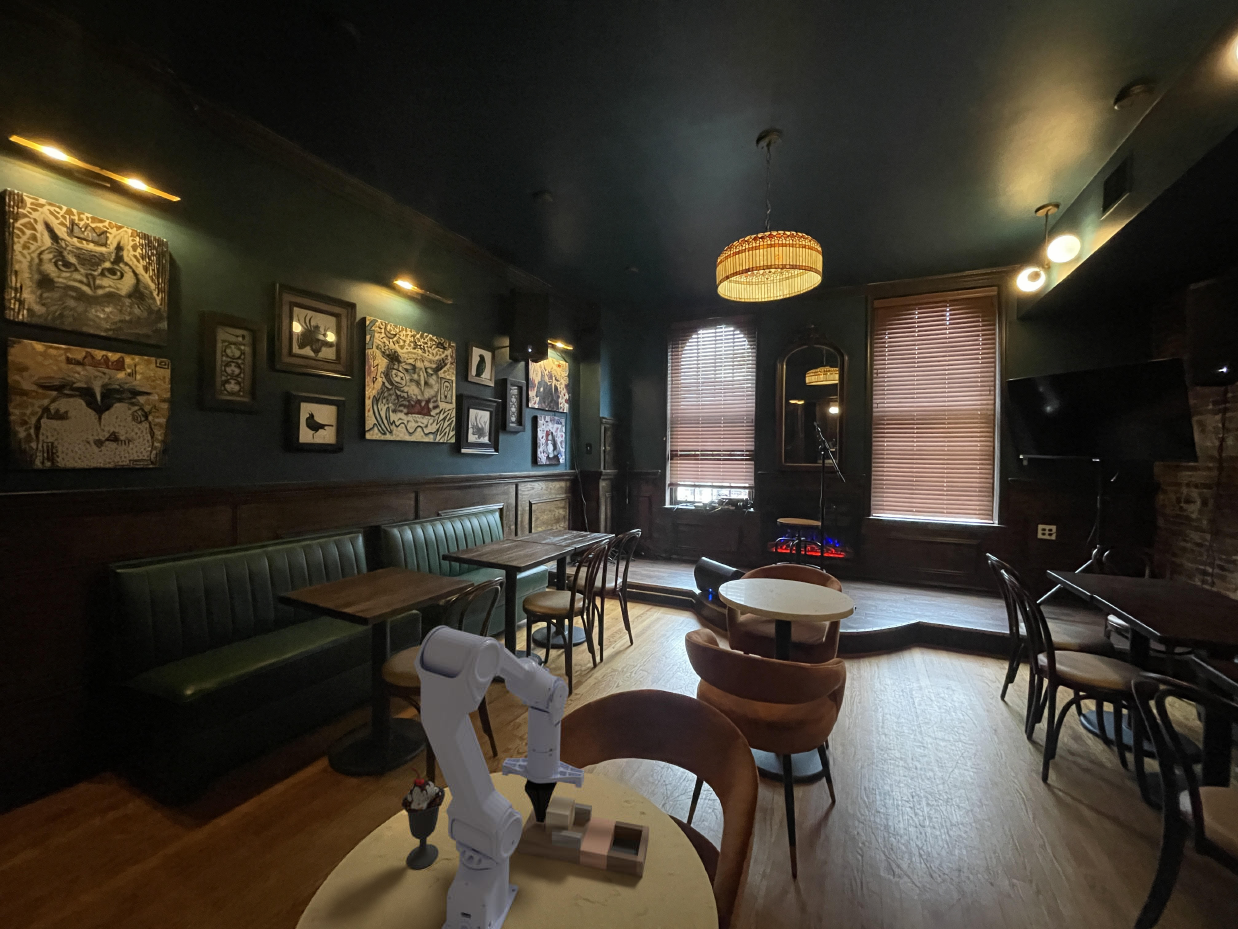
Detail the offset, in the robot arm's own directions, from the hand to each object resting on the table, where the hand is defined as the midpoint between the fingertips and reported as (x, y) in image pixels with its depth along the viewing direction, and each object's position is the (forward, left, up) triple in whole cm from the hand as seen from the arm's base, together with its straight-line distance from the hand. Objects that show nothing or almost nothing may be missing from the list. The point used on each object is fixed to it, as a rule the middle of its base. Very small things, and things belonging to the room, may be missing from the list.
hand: (541, 818), depth 86 cm
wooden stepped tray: (0, -8, -3) cm, 9 cm away
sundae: (-8, +18, -4) cm, 20 cm away
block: (0, -3, -1) cm, 4 cm away
